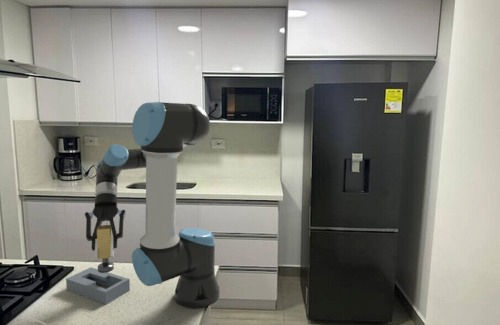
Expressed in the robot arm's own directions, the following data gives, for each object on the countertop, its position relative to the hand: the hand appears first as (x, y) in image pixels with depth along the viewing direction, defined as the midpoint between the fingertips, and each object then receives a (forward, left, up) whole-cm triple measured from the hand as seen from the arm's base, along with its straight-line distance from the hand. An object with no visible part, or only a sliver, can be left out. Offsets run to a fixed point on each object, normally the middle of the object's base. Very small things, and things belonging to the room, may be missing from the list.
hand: (104, 258), depth 109 cm
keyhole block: (+7, -2, -14) cm, 16 cm away
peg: (+3, -3, -6) cm, 7 cm away
